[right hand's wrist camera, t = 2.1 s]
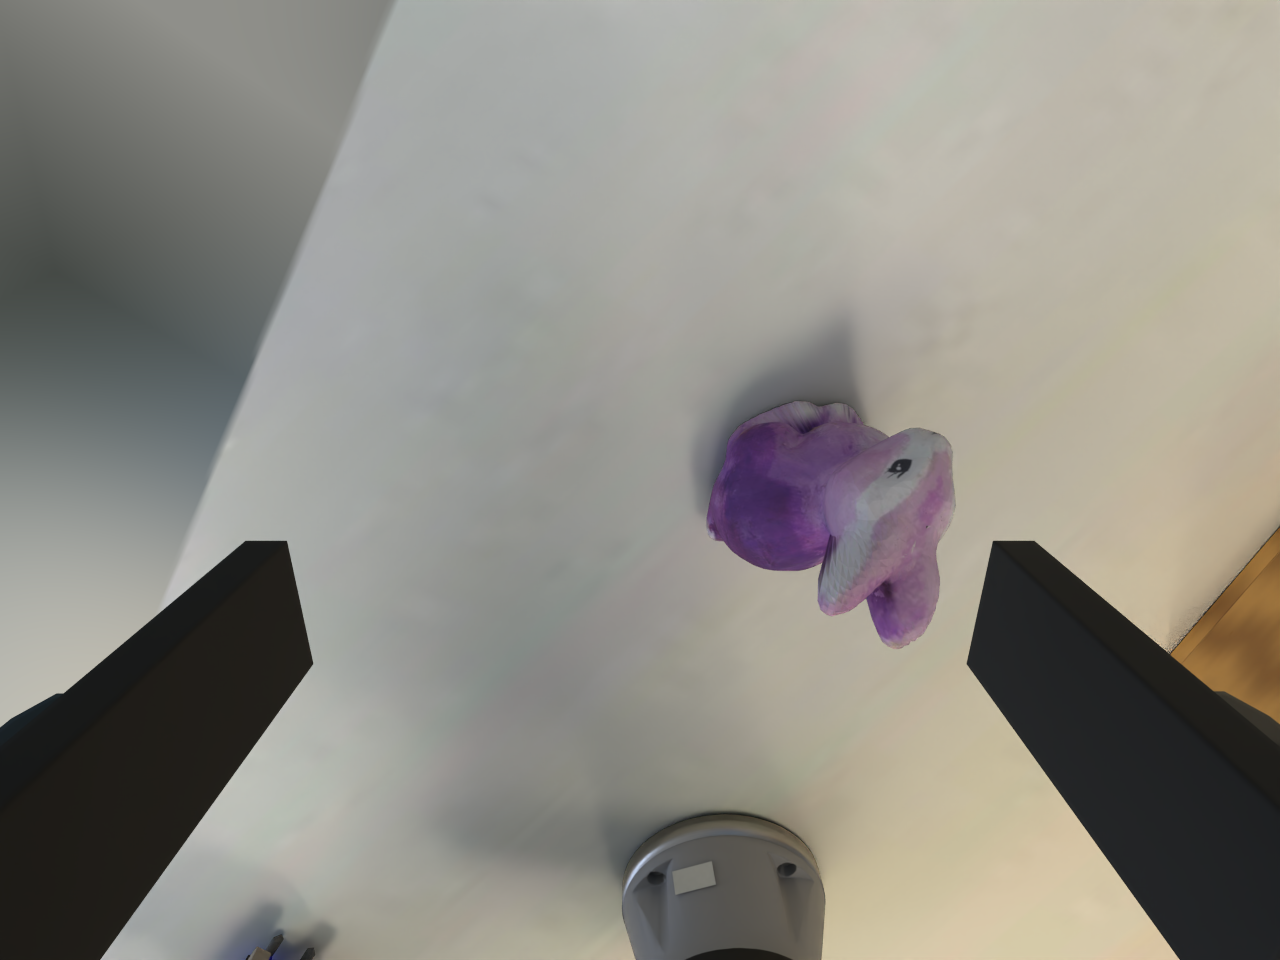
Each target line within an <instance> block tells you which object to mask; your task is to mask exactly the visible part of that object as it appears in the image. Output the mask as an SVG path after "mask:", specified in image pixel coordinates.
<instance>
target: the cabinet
mask: <svg viewBox="0 0 1280 960" xmlns="http://www.w3.org/2000/svg"><path fill="white" fill-rule="evenodd" d="M1170 655H1171V656H1172V657H1173V658H1175V659H1176V660H1177V661H1178V662H1179V663H1181V664H1182V665H1183V666H1184V667H1185V668H1187V669H1188V670H1189V671H1190V672H1191V673H1192V674H1194V675H1195V676H1196V677H1197V678H1198V679H1200V680H1201V681H1202V682H1203V683H1204V684H1206V685H1207V686H1208V687H1209V688H1210V689H1212V690H1213V691H1225V692H1227V693H1228V694H1230V695H1232V696H1234V697H1236V698H1238V699H1239V700H1241V701H1243V702H1245V703H1247V704H1248V705H1250V706H1252V707H1254V708H1256V709H1258V710H1259V711H1261V712H1263V713H1265V714H1267V715H1268V716H1270V717H1271V718H1273V719H1274V720H1275V721H1276V722H1278V723H1279V724H1280V528H1279V529H1278V530H1277V531H1276V532H1275V533H1274V535H1273V536H1272V537H1271V538H1270V539H1269V540H1268V542H1267V543H1266V544H1265V545H1264V546H1263V547H1262V548H1261V550H1260V551H1259V552H1258V553H1257V554H1256V555H1255V557H1254V558H1253V559H1252V560H1251V561H1250V562H1249V564H1248V565H1247V566H1246V567H1245V568H1244V569H1243V571H1242V572H1241V573H1240V574H1239V575H1238V576H1237V578H1236V579H1235V580H1234V581H1233V582H1232V583H1231V585H1230V586H1229V587H1228V588H1227V589H1226V590H1225V592H1224V593H1223V594H1222V595H1221V596H1220V597H1219V598H1218V600H1217V601H1216V602H1215V603H1214V604H1213V605H1212V607H1211V608H1210V609H1209V610H1208V611H1207V612H1206V614H1205V615H1204V616H1203V617H1202V618H1201V619H1200V621H1199V622H1198V623H1197V624H1196V625H1195V626H1194V628H1193V629H1192V630H1191V631H1190V632H1189V633H1188V635H1187V636H1186V637H1185V638H1184V639H1183V640H1182V642H1181V643H1180V644H1179V645H1178V646H1177V647H1176V648H1175V650H1174V651H1173V652H1172V653H1171V654H1170Z"/></svg>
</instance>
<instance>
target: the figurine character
mask: <svg viewBox="0 0 1280 960" xmlns="http://www.w3.org/2000/svg"><path fill="white" fill-rule="evenodd" d="M282 941H283V937H282V935H279V936H276V937H274V938H273V940H272V941H271V943H270V944H269V946H268V947H267V949H266V950H264V949H261V948H259V947H256V948H255V950H254V951H253V953H252V954H251V955H248V957H247V958H246V960H272V956H273V954H274V953H275V951H276V950H277V948H278V947H279V945H280V944H281V942H282ZM314 956H315V952H314V948H308V949H307V950H306V952H305V953H304V955H303V956H302V958H301V959H300V960H312V959H313V957H314Z"/></svg>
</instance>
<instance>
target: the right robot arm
mask: <svg viewBox="0 0 1280 960" xmlns="http://www.w3.org/2000/svg"><path fill="white" fill-rule="evenodd" d="M312 665H313V660H312V655H311V651H310V646H309V641H308V637H307V632H306V628H305V623H304V618H303V614H302V609H301V604H300V600H299V595H298V590H297V586H296V581H295V576H294V572H293V567H292V562H291V558H290V553H289V548H288V544H287V541H245V542H244V543H243V544H241V545H240V546H239V547H238V548H237V549H235V550H234V551H233V552H232V553H231V554H229V555H228V556H227V557H226V558H225V559H223V560H222V561H221V562H220V563H219V564H218V565H216V566H215V567H214V568H213V569H212V570H210V571H209V572H208V573H207V574H206V575H204V576H203V577H202V578H201V579H200V580H198V581H197V582H196V583H195V584H194V585H192V586H191V587H190V588H189V589H188V590H187V591H185V592H184V593H183V594H182V595H181V596H179V597H178V598H177V599H176V600H175V601H173V602H172V603H171V604H170V605H169V606H167V607H166V608H165V609H164V610H163V611H161V612H160V613H159V614H158V615H157V616H155V617H154V618H153V619H152V620H151V621H150V622H148V623H147V624H146V625H145V626H144V627H142V628H141V629H140V630H139V631H138V632H136V633H135V634H134V635H133V636H132V637H130V638H129V639H128V640H127V641H126V642H124V643H123V644H122V645H121V646H120V647H119V648H117V649H116V650H115V651H114V652H113V653H111V654H110V655H109V656H108V657H107V658H105V659H104V660H103V661H102V662H101V663H99V664H98V665H97V666H96V667H95V668H94V669H92V670H91V671H90V672H89V673H88V674H86V675H85V676H84V677H83V678H82V679H80V680H79V681H78V682H77V683H76V684H74V685H73V686H72V687H71V688H70V689H68V690H67V691H66V692H65V693H64V694H55V695H53V696H51V697H50V698H48V699H46V700H44V701H42V702H41V703H39V704H37V705H35V706H33V707H31V708H30V709H28V710H26V711H24V712H22V713H21V714H19V715H17V716H15V717H13V718H12V719H10V720H9V721H8V722H6V723H5V724H4V725H3V726H2V727H0V960H100V959H101V958H102V957H103V955H104V954H105V952H106V951H107V950H108V948H109V947H110V945H111V944H112V943H113V941H114V940H115V938H116V937H117V936H118V934H119V933H120V932H121V930H122V929H123V927H124V926H125V925H126V923H127V922H128V920H129V919H130V918H131V916H132V915H133V913H134V912H135V911H136V909H137V908H138V907H139V905H140V904H141V902H142V901H143V900H144V898H145V897H146V895H147V894H148V893H149V891H150V890H151V889H152V887H153V886H154V884H155V883H156V882H157V880H158V879H159V877H160V876H161V875H162V873H163V872H164V870H165V869H166V868H167V866H168V865H169V864H170V862H171V861H172V859H173V858H174V857H175V855H176V854H177V852H178V851H179V850H180V848H181V847H182V845H183V844H184V843H185V841H186V840H187V839H188V837H189V836H190V834H191V833H192V832H193V830H194V829H195V827H196V826H197V825H198V823H199V822H200V820H201V819H202V818H203V816H204V815H205V814H206V812H207V811H208V809H209V808H210V807H211V805H212V804H213V802H214V801H215V800H216V798H217V797H218V795H219V794H220V793H221V791H222V790H223V789H224V787H225V786H226V784H227V783H228V782H229V780H230V779H231V777H232V776H233V775H234V773H235V772H236V771H237V769H238V768H239V766H240V765H241V764H242V762H243V761H244V759H245V758H246V757H247V755H248V754H249V752H250V751H251V750H252V748H253V747H254V746H255V744H256V743H257V741H258V740H259V739H260V737H261V736H262V734H263V733H264V732H265V730H266V729H267V727H268V726H269V725H270V723H271V722H272V721H273V719H274V718H275V716H276V715H277V714H278V712H279V711H280V709H281V708H282V707H283V705H284V704H285V702H286V701H287V700H288V698H289V697H290V696H291V694H292V693H293V691H294V690H295V689H296V687H297V686H298V684H299V683H300V682H301V680H302V679H303V677H304V676H305V675H306V673H307V672H308V671H309V669H310V668H311V666H312ZM967 665H968V666H969V668H970V669H971V671H972V672H973V673H974V675H975V676H976V677H977V679H978V680H979V682H980V683H981V684H982V686H983V687H984V689H985V690H986V691H987V693H988V694H989V696H990V697H991V698H992V700H993V701H994V702H995V704H996V705H997V707H998V708H999V709H1000V711H1001V712H1002V714H1003V715H1004V716H1005V718H1006V719H1007V721H1008V722H1009V723H1010V725H1011V726H1012V727H1013V729H1014V730H1015V732H1016V733H1017V734H1018V736H1019V737H1020V739H1021V740H1022V741H1023V743H1024V744H1025V746H1026V747H1027V748H1028V750H1029V751H1030V752H1031V754H1032V755H1033V757H1034V758H1035V759H1036V761H1037V762H1038V764H1039V765H1040V766H1041V768H1042V769H1043V771H1044V772H1045V773H1046V775H1047V776H1048V777H1049V779H1050V780H1051V782H1052V783H1053V784H1054V786H1055V787H1056V789H1057V790H1058V791H1059V793H1060V794H1061V795H1062V797H1063V798H1064V800H1065V801H1066V802H1067V804H1068V805H1069V807H1070V808H1071V809H1072V811H1073V812H1074V814H1075V815H1076V816H1077V818H1078V819H1079V820H1080V822H1081V823H1082V825H1083V826H1084V827H1085V829H1086V830H1087V832H1088V833H1089V834H1090V836H1091V837H1092V839H1093V840H1094V841H1095V843H1096V844H1097V845H1098V847H1099V848H1100V850H1101V851H1102V852H1103V854H1104V855H1105V857H1106V858H1107V859H1108V861H1109V862H1110V864H1111V865H1112V866H1113V868H1114V869H1115V870H1116V872H1117V873H1118V875H1119V876H1120V877H1121V879H1122V880H1123V882H1124V883H1125V884H1126V886H1127V887H1128V889H1129V890H1130V891H1131V893H1132V894H1133V895H1134V897H1135V898H1136V900H1137V901H1138V902H1139V904H1140V905H1141V907H1142V908H1143V909H1144V911H1145V912H1146V913H1147V915H1148V916H1149V918H1150V919H1151V920H1152V922H1153V923H1154V925H1155V926H1156V927H1157V929H1158V930H1159V932H1160V933H1161V934H1162V936H1163V937H1164V938H1165V940H1166V941H1167V943H1168V944H1169V945H1170V947H1171V948H1172V950H1173V951H1174V952H1175V954H1176V955H1177V957H1178V958H1179V959H1180V960H1280V724H1279V723H1278V722H1276V721H1275V720H1274V719H1273V718H1271V717H1270V716H1268V715H1267V714H1265V713H1263V712H1261V711H1259V710H1258V709H1256V708H1254V707H1252V706H1250V705H1248V704H1247V703H1245V702H1243V701H1241V700H1239V699H1238V698H1236V697H1234V696H1232V695H1230V694H1228V693H1227V692H1225V691H1213V690H1212V689H1210V688H1209V687H1208V686H1207V685H1206V684H1204V683H1203V682H1202V681H1201V680H1200V679H1198V678H1197V677H1196V676H1195V675H1194V674H1192V673H1191V672H1190V671H1189V670H1188V669H1187V668H1185V667H1184V666H1183V665H1182V664H1181V663H1179V662H1178V661H1177V660H1176V659H1175V658H1173V657H1172V656H1171V655H1170V654H1169V653H1167V652H1166V651H1165V650H1164V649H1163V648H1161V647H1160V646H1159V645H1158V644H1157V643H1156V642H1154V641H1153V640H1152V639H1151V638H1150V637H1148V636H1147V635H1146V634H1145V633H1144V632H1142V631H1141V630H1140V629H1139V628H1138V627H1136V626H1135V625H1134V624H1133V623H1132V622H1130V621H1129V620H1128V619H1127V618H1126V617H1125V616H1123V615H1122V614H1121V613H1120V612H1119V611H1117V610H1116V609H1115V608H1114V607H1113V606H1111V605H1110V604H1109V603H1108V602H1107V601H1105V600H1104V599H1103V598H1102V597H1101V596H1099V595H1098V594H1097V593H1096V592H1095V591H1093V590H1092V589H1091V588H1090V587H1089V586H1088V585H1086V584H1085V583H1084V582H1083V581H1082V580H1080V579H1079V578H1078V577H1077V576H1076V575H1074V574H1073V573H1072V572H1071V571H1070V570H1068V569H1067V568H1066V567H1065V566H1064V565H1062V564H1061V563H1060V562H1059V561H1058V560H1057V559H1055V558H1054V557H1053V556H1052V555H1051V554H1049V553H1048V552H1047V551H1046V550H1045V549H1043V548H1042V547H1041V546H1040V545H1039V544H1037V543H1036V542H1035V541H993V544H992V548H991V553H990V558H989V562H988V567H987V572H986V576H985V581H984V586H983V590H982V595H981V600H980V604H979V609H978V614H977V618H976V623H975V627H974V632H973V637H972V641H971V646H970V651H969V655H968V660H967ZM622 913H623V919H624V923H625V926H626V929H627V932H628V936H629V939H630V942H631V946H632V949H633V952H634V955H635V959H636V960H821V959H822V944H823V929H824V915H825V893H824V888H823V884H822V881H821V877H820V873H819V870H818V866H817V863H816V861H815V859H814V857H813V855H812V853H811V852H810V850H809V849H808V848H807V846H806V845H805V844H804V843H803V842H802V841H801V840H800V839H799V838H797V837H796V836H795V835H793V834H792V833H791V832H789V831H787V830H786V829H784V828H782V827H780V826H778V825H776V824H774V823H771V822H768V821H765V820H762V819H758V818H754V817H749V816H742V815H728V814H723V815H709V816H702V817H696V818H692V819H688V820H685V821H682V822H679V823H676V824H674V825H672V826H669V827H667V828H665V829H663V830H661V831H660V832H658V833H657V834H655V835H653V836H652V837H651V838H649V839H648V840H647V841H646V842H645V843H644V844H643V845H641V846H640V847H639V849H638V850H637V851H636V852H635V853H634V855H633V856H632V858H631V859H630V861H629V863H628V865H627V867H626V870H625V873H624V878H623V893H622Z"/></svg>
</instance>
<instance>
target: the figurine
mask: <svg viewBox="0 0 1280 960" xmlns="http://www.w3.org/2000/svg"><path fill="white" fill-rule="evenodd" d="M952 454H953V452H952V448H951V445H950V443H949V442H948V440H947V439H946V438H945V437H944V436H942V435H941V434H938V433H935V432H932V431H929V430H925V429H922V428H909V429H907V430H904V431H901V432H899V433H897V434H895V435H893V436H891V437H888V436H887V435H886V434H884V433H882V432H881V431H879V430H877V429H874V428H872V427H869V426H865V425H863V422H862V421H861V419H860V418H859V417H858V415H857V414H856V412H855V411H854V409H852V408H851V407H849V405H846V404H843V403H833V404H828V405H824V406H816V405H814V404H812V403H810V402H805V401H794V402H792V403H787V404H785V405H782V406H780V407H777V408H774V409H772V410H770V411H767V412H764V413H762V414H759V415H758V416H756V417H754V418H752V419H750V420H749V421H746V422H745V423H743V424H741V425H740V426H738V428H737V429H736V430H735V431H734V433H733V434H732V435H731V437H730V438H729V440H728V444H727V453H726V459H725V462H724V465H723V467H722V470H721V472H720V474H719V475H718V477H717V479H716V481H715V484H714V487H713V490H712V495H711V499H710V504H709V509H708V514H707V523H706V526H707V531H708V535H709V536H710V537H711V538H712V539H714V540H716V541H724V542H725V543H726V545H727V546H728V547H729V548H730V549H731V550H732V551H733V552H734V553H735V554H737V555H738V556H739V557H741V558H742V559H744V560H746V561H748V562H749V563H751V564H753V565H755V566H758V567H760V568H763V569H768V570H777V571H800V570H805V569H808V568H811V567H814V566H816V565H818V564H820V563H822V562H823V563H822V567H821V570H820V574H819V578H818V603H819V606H820V609H821V610H822V611H823V612H824V613H825V614H827V615H830V616H834V615H838V614H842V613H845V612H848V611H850V610H852V609H853V608H855V607H856V606H857V605H858V604H859V603H861V602H862V601H863V600H864V599H867V602H868V606H869V610H870V613H871V617H872V620H873V622H874V625H875V627H876V630H877V632H878V634H879V636H880V638H881V640H882V642H883V643H885V644H886V645H887V646H889V647H891V648H893V649H899V648H902V647H903V646H906V645H909V643H910V642H911V641H915V640H916V639H917V638H918V637H920V636H921V635H922V634H923V633H924V632H925V630H926V628H927V626H928V625H929V624H930V622H931V619H932V616H933V614H934V612H935V609H936V603H937V601H938V598H939V586H940V577H939V571H938V566H937V560H936V550H937V544H938V542H939V541H940V539H941V538H942V536H943V535H944V533H945V532H946V530H947V529H948V527H949V525H950V523H951V520H952V517H953V515H954V510H955V506H956V504H955V491H954V484H953V473H952Z"/></svg>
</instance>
